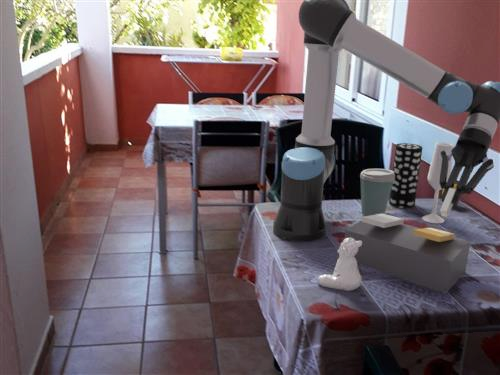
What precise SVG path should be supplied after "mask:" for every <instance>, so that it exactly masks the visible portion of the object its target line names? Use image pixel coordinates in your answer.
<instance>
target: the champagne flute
mask: <svg viewBox="0 0 500 375" xmlns="http://www.w3.org/2000/svg"><path fill="white" fill-rule="evenodd" d="M453 145H454V144H453V143H450V142H443V141H438V142H435V145H434V149H433V153H432V158H431V160H430V161H431V162H430V165H429V170H428V173H427V174H428V175H427V177H426V178H427V179H426V180H427V182H428V184H429V185H430V186H431V187H432V188H433V189H434V196H433V197H434V198H433V203H432V209H431V210H432V211H431V213H428V214H426V215H423V216H422V217H421V220H423V221H424V222H427V223H429V224H431V223H432V224H443V223H444V222H445V219H444V218H442V217H441V216H439V215H438V214H437V207H438V202H439V194H440V191H441V190H443V189H442V188H441V186H440V183H439V180H440V173H441V165H442V157H441V151H445V152H448V151H451V150H452V148H453V147H454V146H453ZM452 165H453V156H451V159H450V161H448V173H447V181H448V179H449V176H450V174H451V172H452V169H453V168H452ZM447 181H446V182H447Z"/></svg>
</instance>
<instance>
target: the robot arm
mask: <svg viewBox="0 0 500 375" xmlns="http://www.w3.org/2000/svg"><path fill="white" fill-rule="evenodd" d="M298 10H299V11H298V22H299V25H300V27H301V29H302V31H303V33H304V34H303V46H305V48H306V49H307V51H308V52H307V54H308V55H307V62H306V63H307V64H306V76H305V87H304V98H303V100H304V102H303V112H302V122H301V123H302V124H301V133H300V134H298V135H297V137H295V143H294V144H295V145H294V148H292V149H289V150H287V151H286V152H284V154H283V156H282V161H281V179H280V180H281V184H280V205H279V207H278V210H277V212H276V215H275V218H274V221H273V227H272V230H273V233H274V234H275V235H276V236H277V237H279V238H281V239H284V240H287V241H291V242H292V241H293V242H303V243H305V242H306V243H307V242H308V243H309V242H314V241H318V240H321V239H323V238H324V237H325V236H326V235H327V223H326V219H325V214H324V211H323V196H324V194H323V193H324V183H325V182H326V181H327V179H328V178H329V177H330V175H332V173H333V171H334V169H335V165H336V156H335V144H336V141H335V139H334V138H333V137H332V136H331V132H332V123H333V113H334V103H335V94H336V84H337V77H338V66H339V59H340V58H339V56H340V52H341V51H342V50H345V51H347V52H348V53H350V54H351V55H353V56H354V57H356V58H359V59H361V61H364V62H365V63H366V64H369V65H370V66H372V67H374V68H375V69H377V70H379V71H380V72H382V73H383V74H385V75H387V76H388V77H390V78H392V79H393V80H395V81H397V82H398V83H401V85H403V86H406V87H407V88H408V89H410V90H413V92H416V93H417V94H418V95H420V96H422V97H424V98H426V99H427V100H429V102H432V103H434V104H435V105H437V106H439V108H440V109H441V110H442V111H444V112H445V113H448V114H450V115H458V114H462V113H464V112H465V113H467V114H468V115H467V118H466V120H465V122H464V125H463V127H462V131H460V133H459V136H458V139H457V140H456V144H455V145H454V146H453V148H452V150H451V151H448V152H445V151H441V157H442V165H441V173H440V180H439V183H440V186H441V188H442V189H441V190H443V189H445V190H444V192H443V194H442V193H441V197H440V198H441V201H442V203H441V204H442V205H441V207H440V209H439V212H440V215H441V216H442V217H445V218H449V216H450V213H451V211H452V208H453V206H457V205H458V204H459V202H460V200H461V197H462V195H465V194H466V195H471V194H472V192H473V191H474V190H475V189H476V187H477V185H478V184H480V182H481V181H482V180H483V178H484V177H485V176H486V174H487V173H488V172H490V171H491V170H492V169H494V167H495V166H494V159H493V158H488V152H489V148H490V146H491V144H492V140H493V138H494V136H495V133H496V131H497V129H498V125H499V123H500V81H495V82H494V81H492V80H489V81H485V82H484V83H482V84H481V85H480V84H476V83H474V82H471V81H469V80H468V79H465V78H463V77H460V76H458V75H456V74H453V73H452V72H448V71H445V70H444V69H442V68H440V67H439V66H437V65H436V64H434V63H432V62H431V61H429V60H427V59H426V58H424V57H422V56H421V55H419V54H417V53H415V52H413V51H412V50H411V49H408V48H406V46H403V45H402V44H400V43H398V42H397V41H395V40H393V39H392V38H390V37H388V36H386V35H384V34H383V33H381V32H379V31H378V30H376V29H374V28H373V27H371V26H369V25H367V23H365V22H363V21H361V20H359V19H358V18H357V16H356V12H355V11H353V10H351V9H350V7H349V4H348V2H347V1H346V0H303V1H302V2H301V4H300V6H299V9H298ZM451 156H452V159H453V161H454V165H453V168H451V174H450V176H449V179H448V181H447V173H448V161H450V159H451ZM480 164H481V165H480ZM479 165H480V166H479ZM477 166H479V168H478V169H477V170H476V171H475V173H474V174H473V176H472V177H471V178H470V176H471V175H472V173H473V170H474V169H475V167H477ZM462 170H463V171H462ZM461 172H462V173H461ZM460 173H461V175H460ZM459 175H460V178H459ZM458 178H459V179H458ZM457 179H458V180H459V181H458V183H457ZM469 179H470V180H469ZM446 181H447V182H446ZM455 184H456V185H457V186H456V188H457V189H453V187H454V185H455Z"/></svg>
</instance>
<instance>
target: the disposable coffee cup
mask: <svg viewBox="0 0 500 375" xmlns="http://www.w3.org/2000/svg"><path fill="white" fill-rule="evenodd" d="M359 177H360V199H361V200H360V202H361V203H360V204H361V214H362V217H364V216H370V215H375V214H382V213H383V214H385V213H386V209H387V206H388V204H389V198H390V192H391V189H392V185H393V181H395V175H394V171H393V170H392V169H386V168H367V169H363V170H362V171H361V172H360V174H359Z"/></svg>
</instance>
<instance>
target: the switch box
mask: <svg viewBox="0 0 500 375" xmlns="http://www.w3.org/2000/svg"><path fill="white" fill-rule="evenodd" d="M415 229H423V228H421V227H418V226H414V225H410V224H406V223H403V224H400V225H396V226H391V227H386V228H382V227H379V226H375V225H372V224H368V223H365V222H361V220H360V221H357V222H356V223H355V224H353V225H351V226H349V227H348V228H346V229H345V230H344V231H345V232H344V239H345V238H349V237H351V238H353V239H354V240H355V241H362V246H361V247H358V252H357V254H356V255H355V256H354V257H355V258H356V260H357V264H358V265H360V266H363V267H366V268H370V269H372V270H374V271H379V272H381V273H384V274H387V275H389V276H392V277H395V278H398V279H400V280H404V281H407V282H411V283H412V284H416V285H419V286H421V287H424V288H427V289H431V290H433V291H436V292H439V293H443V294H444V295H446V294H447V293H448V292H449V290H450V289H451V288H452V287H453V286H454V285H455V284H456V283H457V282H458V281H459V279H461V277H463V275H464V274H465V273H466V271H467V270H466V269H467V264H468V258H469V254H470V248H471V241H468V240H465V239H461V238H458V237H454V239H452V240H447V241H441V242H437V241H433V240H430V239H426V238H423V237H419V236H416V235H413V231H414V230H415Z"/></svg>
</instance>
